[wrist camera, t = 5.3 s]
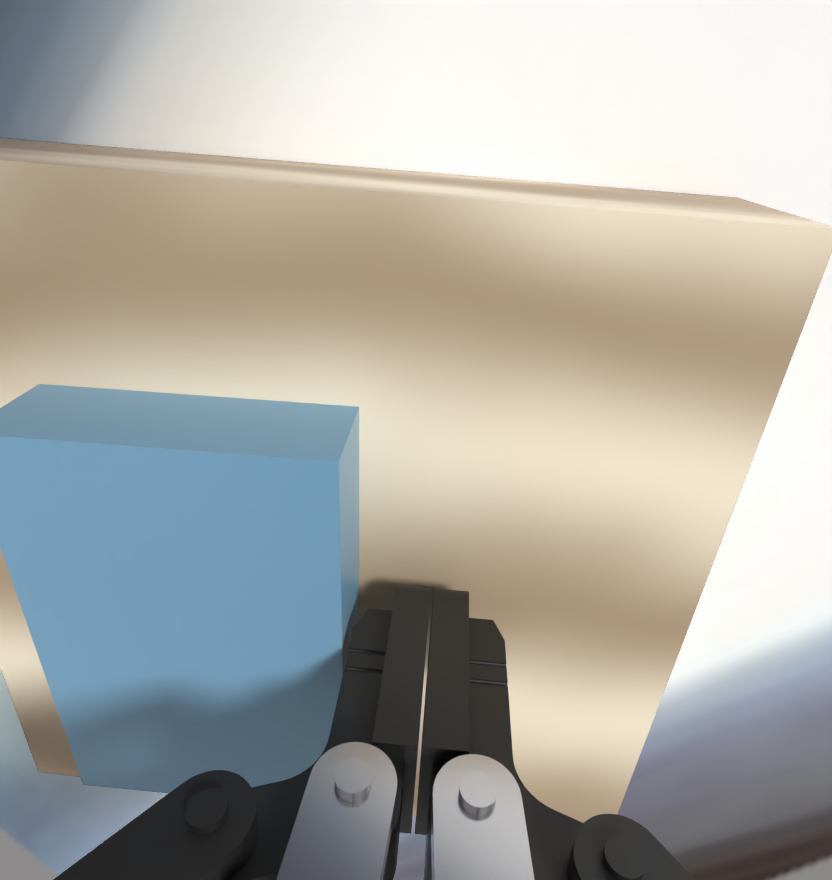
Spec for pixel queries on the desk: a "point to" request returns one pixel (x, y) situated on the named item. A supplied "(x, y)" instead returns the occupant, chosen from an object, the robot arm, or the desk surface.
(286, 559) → the blue flat block
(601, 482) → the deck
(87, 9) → the desk surface
